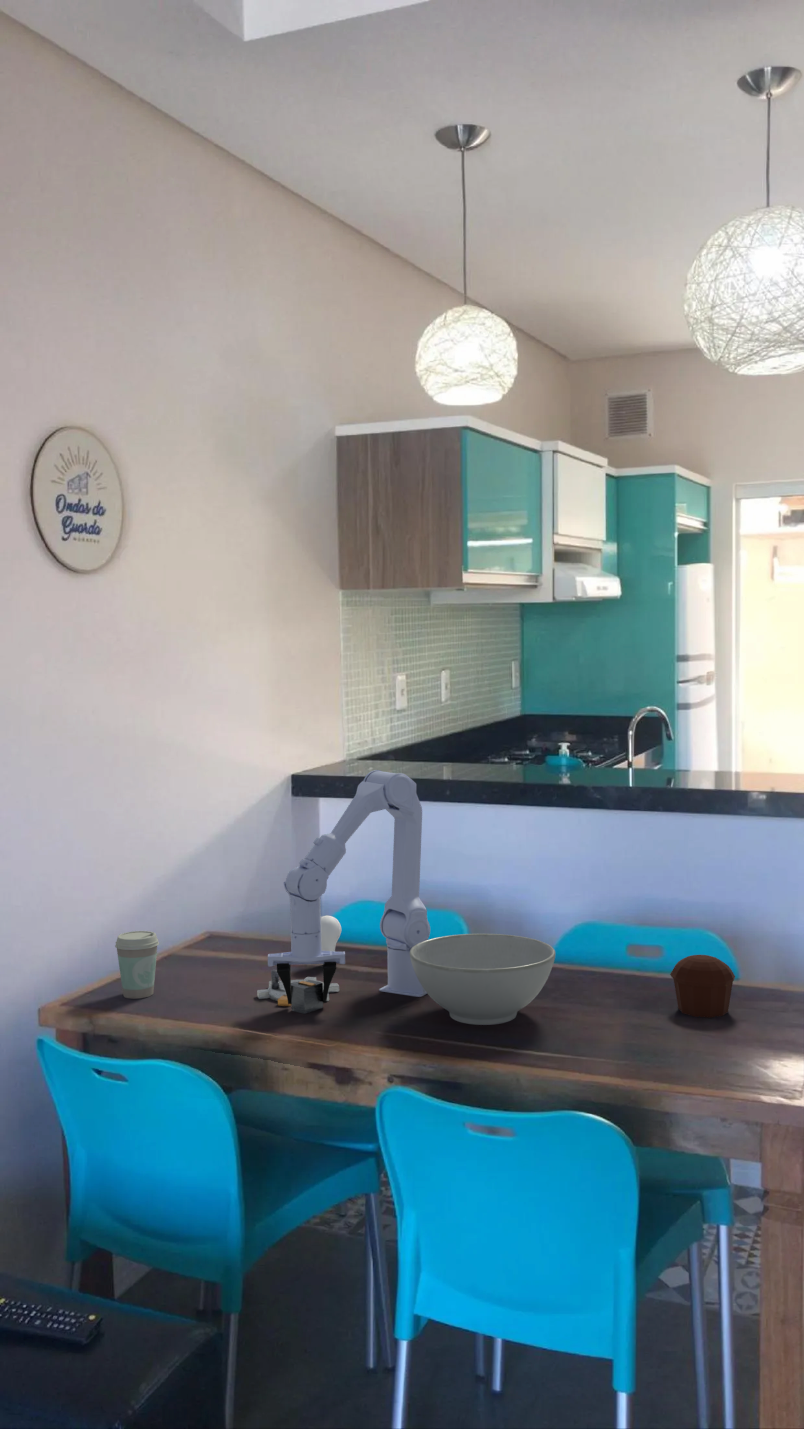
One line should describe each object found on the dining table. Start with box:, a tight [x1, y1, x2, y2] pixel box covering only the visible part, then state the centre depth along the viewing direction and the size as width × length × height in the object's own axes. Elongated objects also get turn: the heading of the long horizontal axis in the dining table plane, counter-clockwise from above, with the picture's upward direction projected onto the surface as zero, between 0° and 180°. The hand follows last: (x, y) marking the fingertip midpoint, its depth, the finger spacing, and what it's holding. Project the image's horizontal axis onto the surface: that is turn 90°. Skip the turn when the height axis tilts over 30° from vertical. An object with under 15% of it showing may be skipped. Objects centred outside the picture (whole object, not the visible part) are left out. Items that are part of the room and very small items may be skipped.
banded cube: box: [291, 980, 324, 1015], centre depth 224 cm, size 3×5×5 cm
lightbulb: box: [321, 915, 342, 951], centre depth 256 cm, size 6×6×11 cm
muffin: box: [669, 954, 736, 1019], centre depth 220 cm, size 12×11×10 cm
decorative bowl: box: [410, 933, 556, 1026], centre depth 219 cm, size 27×27×12 cm
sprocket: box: [256, 969, 340, 1007], centre depth 234 cm, size 16×16×5 cm
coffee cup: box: [114, 930, 160, 1000], centre depth 236 cm, size 8×8×12 cm
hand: (307, 1002), depth 225 cm, fingers closed on banded cube, 6 cm apart
